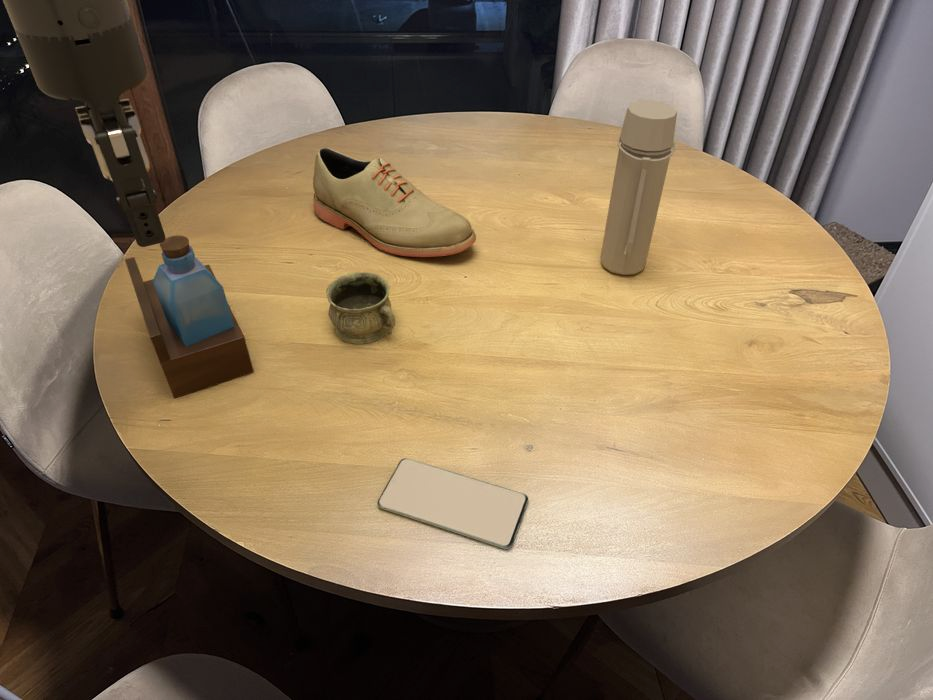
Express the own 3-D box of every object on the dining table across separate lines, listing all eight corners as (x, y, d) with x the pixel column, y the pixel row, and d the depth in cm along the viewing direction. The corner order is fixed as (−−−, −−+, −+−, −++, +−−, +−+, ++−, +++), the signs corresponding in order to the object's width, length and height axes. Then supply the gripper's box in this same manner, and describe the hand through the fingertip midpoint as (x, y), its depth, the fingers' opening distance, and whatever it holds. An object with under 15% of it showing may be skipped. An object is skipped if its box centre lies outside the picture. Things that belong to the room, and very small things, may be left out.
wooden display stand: (253, 372, 87) (237, 311, 81) (174, 398, 84) (150, 337, 77) (218, 298, 99) (202, 239, 92) (147, 318, 95) (124, 259, 89)
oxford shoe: (454, 277, 104) (454, 210, 96) (293, 222, 115) (281, 158, 107) (488, 243, 111) (491, 178, 103) (333, 195, 122) (325, 133, 115)
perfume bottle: (213, 303, 88) (190, 222, 80) (234, 326, 85) (211, 245, 77) (167, 321, 86) (137, 240, 78) (186, 346, 82) (157, 264, 74)
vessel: (415, 325, 95) (413, 288, 91) (375, 360, 89) (372, 323, 85) (350, 296, 100) (345, 260, 96) (308, 327, 94) (301, 291, 90)
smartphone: (510, 548, 68) (375, 504, 71) (510, 551, 68) (375, 507, 72) (530, 495, 73) (402, 456, 76) (529, 498, 73) (402, 459, 77)
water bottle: (597, 249, 110) (623, 96, 94) (646, 254, 109) (681, 101, 93) (595, 282, 103) (623, 123, 87) (648, 287, 102) (685, 128, 86)
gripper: (6, -3, 50) (85, 193, 61) (18, 54, 41) (108, 273, 52) (114, -15, 53) (171, 175, 64) (147, 36, 44) (207, 248, 55)
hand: (142, 219), depth 58 cm, fingers open, 8 cm apart
